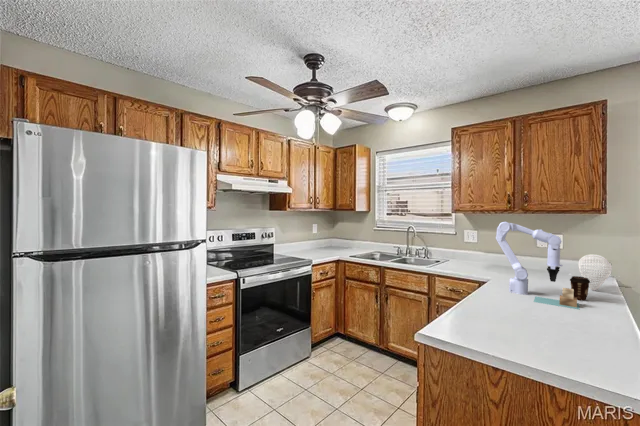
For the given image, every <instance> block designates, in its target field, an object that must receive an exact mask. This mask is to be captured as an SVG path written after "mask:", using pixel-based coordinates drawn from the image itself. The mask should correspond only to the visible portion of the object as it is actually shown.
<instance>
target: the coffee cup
mask: <svg viewBox="0 0 640 426" xmlns="http://www.w3.org/2000/svg"><path fill="white" fill-rule="evenodd" d="M588 278H589V277H588ZM588 278H584V277H582V276H577V275H573V276H571V277H570V278H569V281H570V289H574V297H575V298H577V301H582V302H587V297H588V294H589V289H590V288H589V283H590V282H591V281H589V279H588Z"/></svg>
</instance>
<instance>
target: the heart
mask: <svg viewBox="0 0 640 426" xmlns="http://www.w3.org/2000/svg"><path fill="white" fill-rule="evenodd" d="M578 271H579V273H580V275H581V277H584V278H588V279H589V281H590V283H589V289H590V290H592V291H597V290H598V289H599V288H600V287H601V286H602V285H603V284H604V283H605V281H606V280H607V279H608V278H609V277H610V275H611V274H612V272H613V267H612V265H611V263H610V262H609V260H608V259H607V258H606V257H604V256H602V255H599V254H596V253H595V254H594V253H593V254H592V253H591V254H585V255H584V256H582V257H580V258H579V260H578Z"/></svg>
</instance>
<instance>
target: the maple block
mask: <svg viewBox="0 0 640 426" xmlns="http://www.w3.org/2000/svg"><path fill="white" fill-rule="evenodd" d="M573 297H574V289H571V288H569V287H568V288H566V287H562V298H567V299H573Z"/></svg>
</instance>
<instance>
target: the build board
mask: <svg viewBox="0 0 640 426" xmlns="http://www.w3.org/2000/svg"><path fill="white" fill-rule="evenodd" d="M533 303H537V304H543V305H550V306H555V307H561V308H562V307H563V308H568V309H573V310H580V302H579V303H578V302H577V307H571V306H565V305H559V303H560V299H553V298H547V297H543V296H534V299H533Z"/></svg>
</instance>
